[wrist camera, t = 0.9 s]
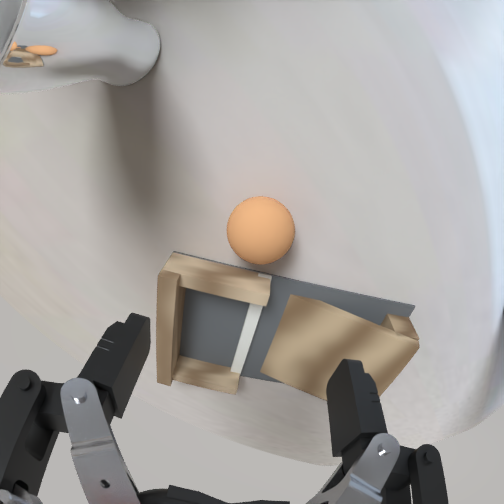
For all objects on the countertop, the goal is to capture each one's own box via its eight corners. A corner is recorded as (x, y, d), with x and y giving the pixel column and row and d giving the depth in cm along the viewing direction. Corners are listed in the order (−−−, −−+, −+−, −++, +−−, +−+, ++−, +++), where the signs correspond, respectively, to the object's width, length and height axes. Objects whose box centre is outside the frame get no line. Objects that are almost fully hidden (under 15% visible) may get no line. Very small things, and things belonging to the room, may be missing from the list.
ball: (300, 197, 22) (306, 220, 18) (283, 251, 25) (285, 284, 20) (238, 182, 22) (229, 201, 18) (226, 238, 25) (215, 268, 20)
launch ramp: (405, 311, 28) (423, 348, 23) (359, 379, 33) (367, 414, 28) (289, 288, 27) (291, 328, 22) (259, 365, 33) (256, 404, 28)
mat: (414, 305, 26) (417, 310, 26) (355, 390, 34) (356, 394, 33) (173, 251, 26) (171, 255, 25) (166, 356, 32) (165, 361, 32)
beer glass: (172, 13, 16) (55, -65, 2) (160, 89, 19) (12, 85, 6) (100, 23, 16) (-32, -6, 2) (90, 93, 19) (-56, 113, 6)
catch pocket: (270, 275, 26) (269, 302, 22) (238, 375, 33) (234, 401, 29) (173, 252, 25) (157, 275, 22) (166, 357, 32) (157, 382, 29)
